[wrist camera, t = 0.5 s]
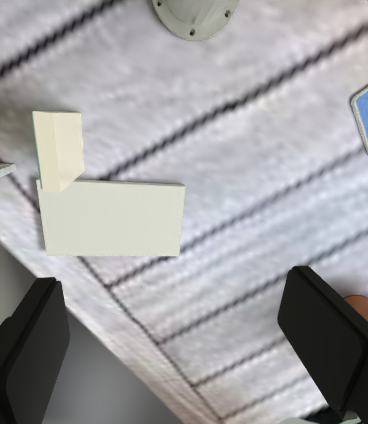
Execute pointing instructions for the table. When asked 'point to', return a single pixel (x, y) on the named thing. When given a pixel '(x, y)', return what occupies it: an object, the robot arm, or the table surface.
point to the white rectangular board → (112, 219)
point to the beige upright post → (6, 168)
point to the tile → (58, 148)
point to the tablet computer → (361, 114)
